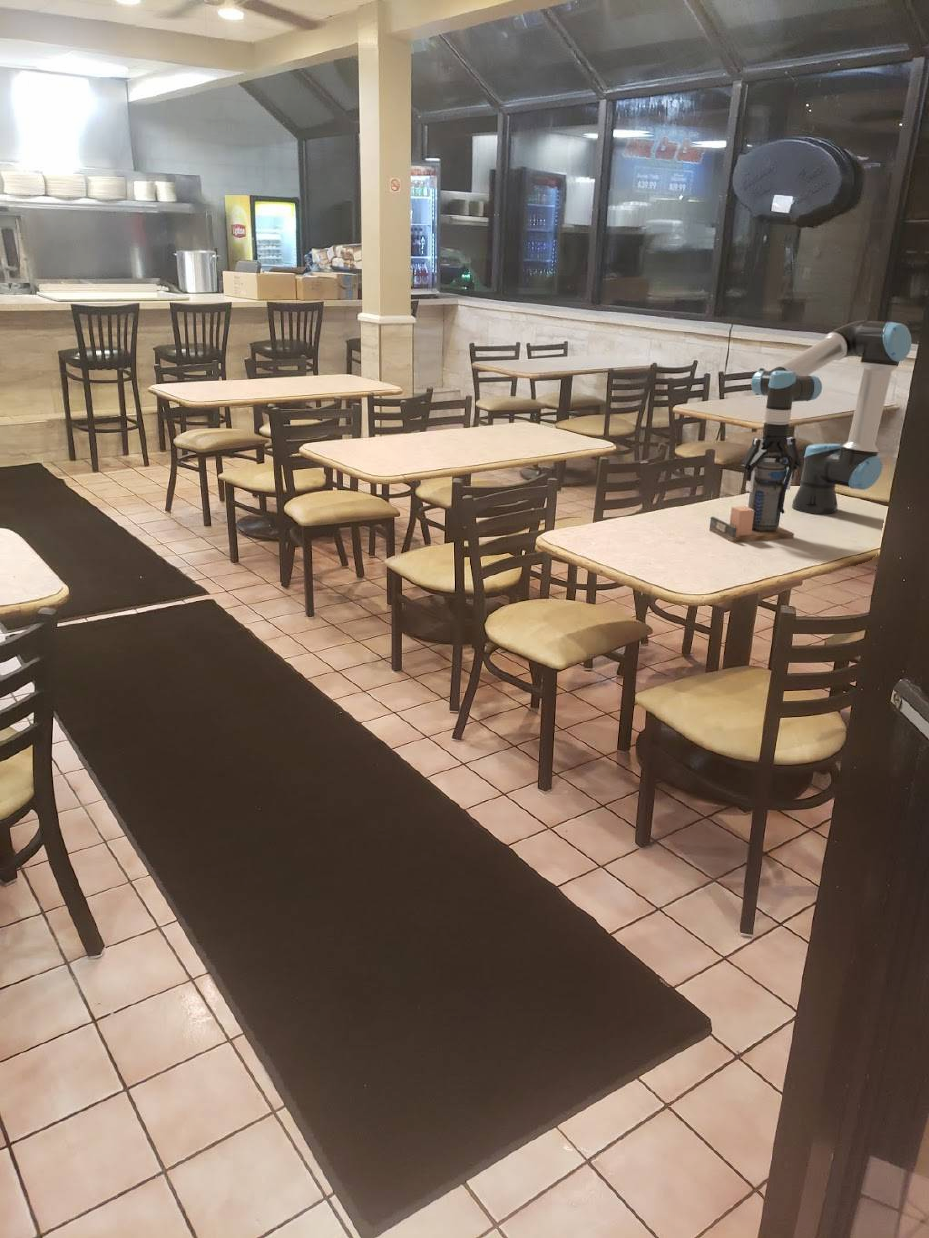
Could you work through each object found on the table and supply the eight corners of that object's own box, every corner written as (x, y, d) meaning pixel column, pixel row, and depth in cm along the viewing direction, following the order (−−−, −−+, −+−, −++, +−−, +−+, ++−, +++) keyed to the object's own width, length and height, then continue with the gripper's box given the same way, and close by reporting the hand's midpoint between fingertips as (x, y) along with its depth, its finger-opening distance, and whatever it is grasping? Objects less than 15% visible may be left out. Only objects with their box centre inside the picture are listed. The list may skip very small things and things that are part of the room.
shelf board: (768, 526, 315) (770, 513, 314) (793, 538, 303) (795, 524, 301) (708, 530, 309) (710, 516, 308) (731, 542, 297) (732, 528, 295)
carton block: (742, 530, 304) (745, 506, 301) (751, 534, 300) (754, 510, 297) (728, 531, 303) (731, 507, 300) (737, 535, 298) (740, 510, 296)
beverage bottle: (776, 535, 299) (787, 456, 290) (737, 527, 307) (747, 450, 299) (790, 529, 306) (801, 452, 297) (752, 522, 315) (762, 446, 306)
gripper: (804, 419, 301) (795, 485, 309) (734, 421, 295) (726, 489, 302) (818, 423, 294) (808, 490, 302) (747, 425, 288) (739, 494, 295)
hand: (767, 490), depth 302 cm, fingers open, 13 cm apart
